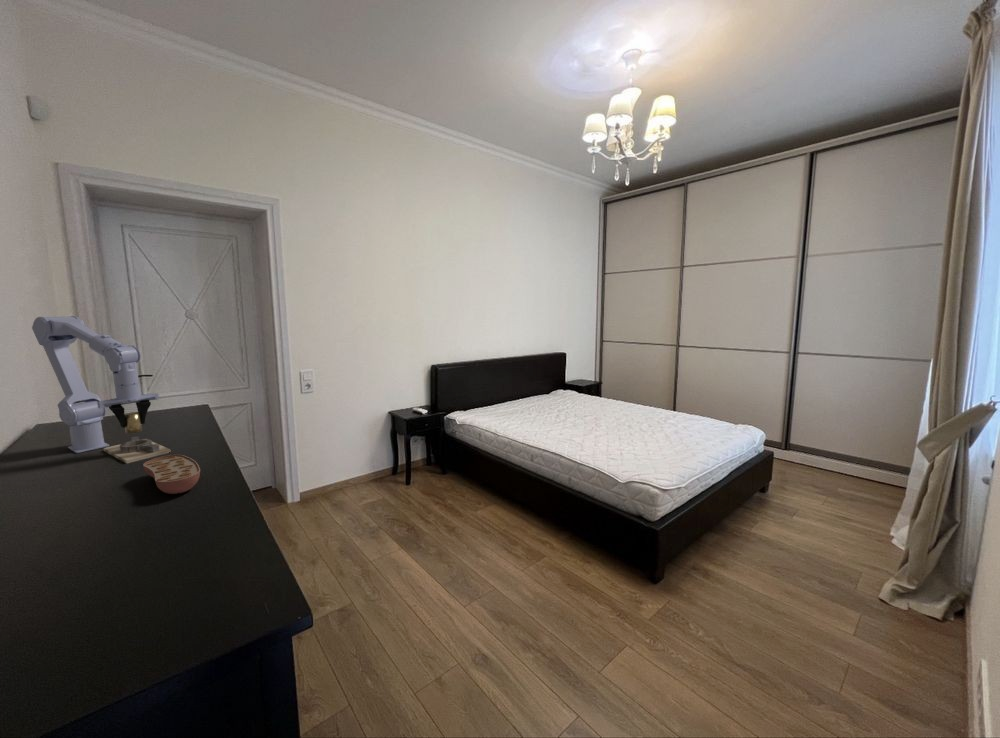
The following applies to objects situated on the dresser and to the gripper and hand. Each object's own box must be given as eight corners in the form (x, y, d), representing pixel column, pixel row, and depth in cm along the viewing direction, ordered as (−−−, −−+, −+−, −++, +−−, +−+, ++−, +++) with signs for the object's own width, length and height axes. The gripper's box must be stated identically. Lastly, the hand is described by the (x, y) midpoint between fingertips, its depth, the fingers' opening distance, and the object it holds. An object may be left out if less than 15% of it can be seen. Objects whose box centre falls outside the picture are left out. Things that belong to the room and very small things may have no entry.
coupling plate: (103, 451, 131) (102, 442, 130) (146, 441, 140) (145, 433, 140) (126, 463, 121) (125, 454, 120) (170, 452, 130) (169, 443, 130)
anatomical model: (142, 478, 111) (139, 461, 110) (186, 467, 119) (184, 451, 118) (161, 504, 97) (158, 485, 96) (210, 490, 104) (208, 472, 103)
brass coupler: (123, 432, 129) (121, 414, 128) (139, 428, 132) (137, 411, 131) (128, 434, 127) (125, 416, 126) (144, 431, 130) (141, 413, 129)
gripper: (100, 389, 119) (107, 433, 121) (160, 381, 131) (165, 421, 133) (92, 386, 122) (99, 429, 124) (151, 379, 135) (157, 418, 137)
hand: (133, 425), depth 129 cm, fingers closed on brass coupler, 4 cm apart
